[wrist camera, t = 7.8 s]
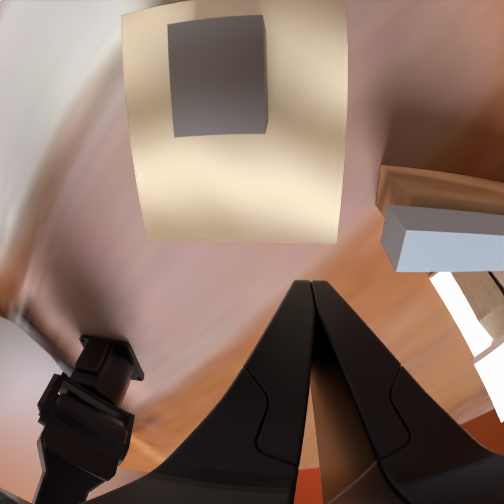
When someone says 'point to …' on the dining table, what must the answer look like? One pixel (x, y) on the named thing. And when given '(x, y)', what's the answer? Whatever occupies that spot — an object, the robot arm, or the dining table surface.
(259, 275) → the dining table surface
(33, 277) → the dining table surface
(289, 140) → the lid
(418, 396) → the robot arm
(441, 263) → the block
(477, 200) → the tan rectangular bar
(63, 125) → the dining table surface
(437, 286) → the white rectangular block
